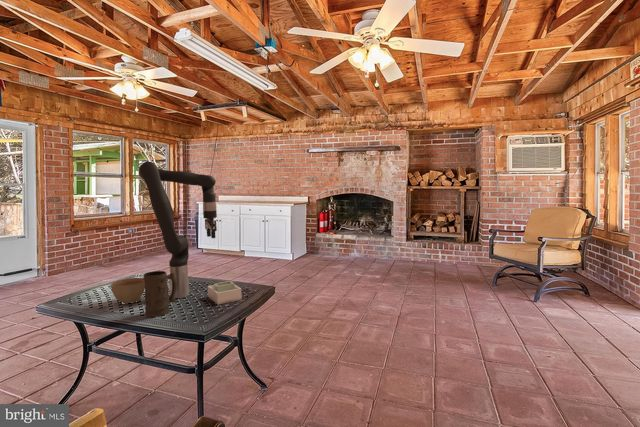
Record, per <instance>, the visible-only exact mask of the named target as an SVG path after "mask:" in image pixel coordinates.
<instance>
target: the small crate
mask: <svg viewBox="0 0 640 427" xmlns="http://www.w3.org/2000/svg"><path fill="white" fill-rule="evenodd" d="M234 284H235V283H234V282H233V281H231V280H226V281H221V282H217V283H213V285H214V290H216V291H217V292H218V293H219V292H224V291H229V290H234V289H235V288H234Z"/></svg>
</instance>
